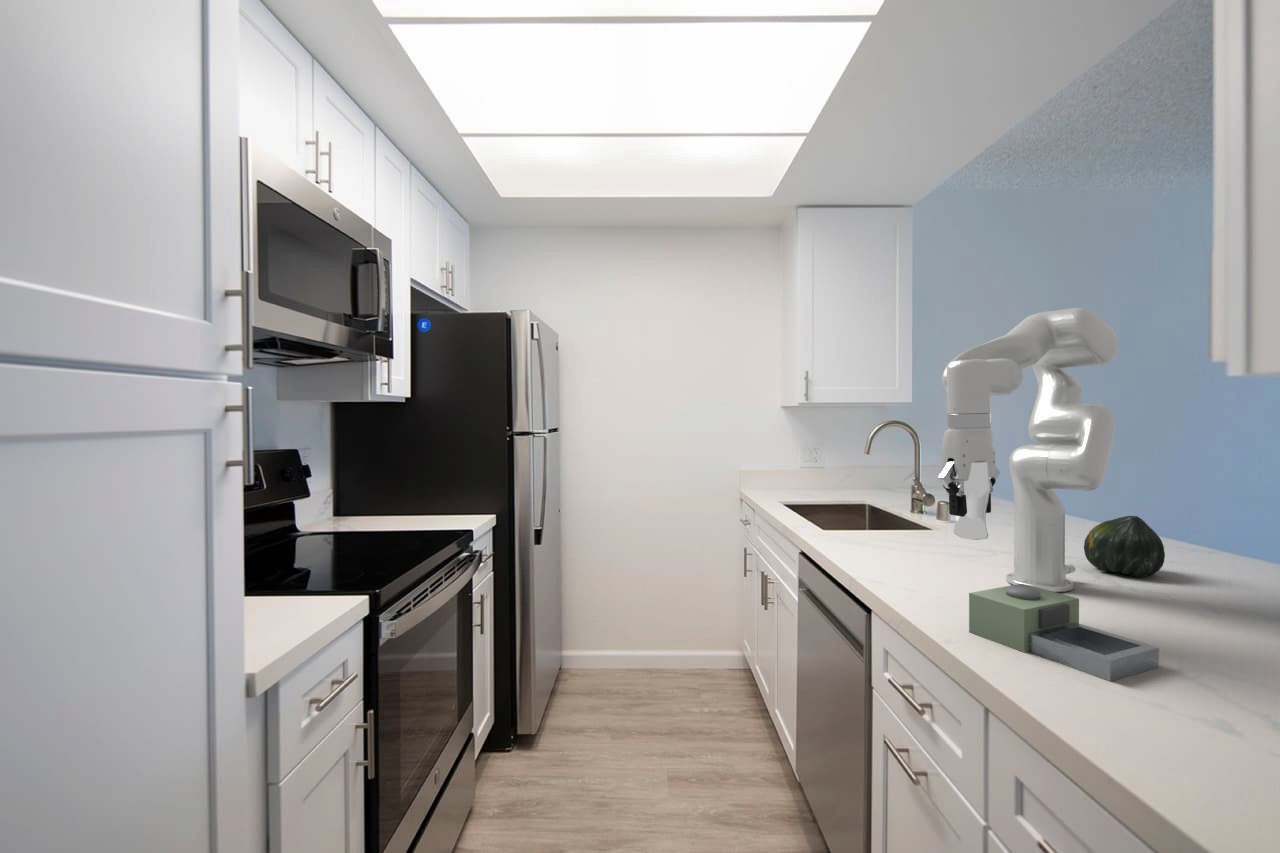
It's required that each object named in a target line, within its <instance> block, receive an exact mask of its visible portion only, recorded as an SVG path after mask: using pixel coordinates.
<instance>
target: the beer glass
mask: <svg viewBox="0 0 1280 853" xmlns="http://www.w3.org/2000/svg"><path fill="white" fill-rule="evenodd" d="M953 479H958V474H956V471H955V470H954V472H953ZM953 483H954V484H955V485H956V487H957V488H958V484H959V483H957V482H953ZM989 492H990V475H989V466H988V461H986V462H975V463H972V464H971V470H970V475H969V479H968V481H966V482H964V492H963V495H962V496H965V505H966V515H965V516H964V517H961V516H955V515H954V527H953V531H952V534H953V537H954V538H957V539H960V540H961V539H962V540H971V541H976V540H977V541H981V540H987V539H989V532H988V528H987V513H986V510H987V505H988V499H989Z"/></svg>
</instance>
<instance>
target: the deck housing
mask: <svg viewBox="0 0 1280 853" xmlns="http://www.w3.org/2000/svg"><path fill="white" fill-rule="evenodd" d="M968 615H969V616H968V619H969V620H968V632H969V633H971V634H973V635H977V636H979V637H982V638H984V639H987V640H990V641H993V642H995V643H998V644H1001V645H1003V646H1006V647H1008V648H1012V649H1015V650H1017V651H1020V652H1023V653H1028V652H1029V651H1028V633H1031V632H1036V631H1040V630H1044V629H1049V628H1053V627H1058V626H1062V625H1066V624H1071V623H1079V624H1080V598H1079V597H1075V596H1071V595H1066V594H1064V593H1063V594H1062V593H1061V592H1052V591H1049V590H1045V589H1041V588H1037V587H1033V586H1029V585H1026V584H1017V585H1013V584H1010V585H1007V586H1000V587H996V588H990V589H984V590H977V591H972V592H969V593H968Z"/></svg>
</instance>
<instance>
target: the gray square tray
mask: <svg viewBox="0 0 1280 853" xmlns="http://www.w3.org/2000/svg"><path fill="white" fill-rule="evenodd" d="M1028 652H1029V653H1032V654H1035V655H1037V656H1040V657H1043V658H1045V659H1049V660H1051V661H1054V662H1057V663H1060V664H1062V665H1064V666H1068V667H1070V668H1072V669H1076V670H1078V671H1081V672H1084V673H1086V674H1089V675H1092V676H1094V677H1098V678H1099V679H1103V680H1106V681H1109V682H1112V681H1116V680H1120V679H1123V678H1125V677H1126V678H1127V677H1129V676H1133V675H1136V674H1139V673H1143V672H1146V671H1150V670H1153V669H1157V668H1159V666H1160V664H1159V662H1160V659H1159V658H1160V657H1159V656H1160V655H1159V654H1160V647H1158V646H1155V645H1152V644H1148V643H1145V642H1141V641H1139V640H1136V639H1131V638H1128V637H1125V636H1121V635H1118V634H1115V633H1111V632H1109V631H1105V630H1101V629H1098V628H1095V627H1092V626H1090V625H1089V626H1088V625H1085V624H1081V623H1080V622H1079V623H1071V624H1066V625H1062V626H1058V627H1053V628H1049V629H1044V630H1040V631H1036V632H1031V633H1028Z"/></svg>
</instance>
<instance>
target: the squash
mask: <svg viewBox="0 0 1280 853" xmlns="http://www.w3.org/2000/svg"><path fill="white" fill-rule="evenodd" d="M1083 542H1084V544H1083V550H1084V556H1085V558H1086V559H1087V561H1088V562H1089V563H1090V564H1091V566H1093V567H1095V568H1096V569H1097V570H1100V571H1102V572H1114V573H1119V572H1120V573H1122V574H1126V575H1130V576H1132V577H1135V578H1144V577H1149V576H1153V575H1154V574H1156V573H1157V572H1159V571H1160V570H1161V569H1162V568H1163V566H1164V563H1165V557H1166V552H1165V546H1164V544H1163V541H1162V539H1161V537H1160V536H1159V535H1158V534H1157V532H1156V531H1155V530H1153V528H1152V527H1151V526H1149V525H1148V524H1147V522H1146V521H1144V520H1143V518H1141V517H1139V516H1138V515H1127V516H1126V515H1125V516H1121V517H1118V518H1114V519H1109V520H1106V521H1103V522H1100V523H1099V524H1096V525H1095V526H1094V527H1092V528H1091V530H1090V531H1089V532H1088V533H1087V536H1086V537H1085V538H1084V541H1083Z"/></svg>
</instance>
